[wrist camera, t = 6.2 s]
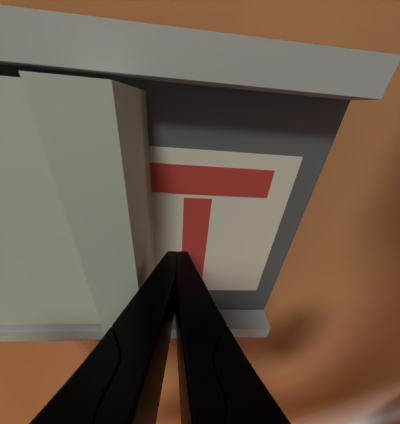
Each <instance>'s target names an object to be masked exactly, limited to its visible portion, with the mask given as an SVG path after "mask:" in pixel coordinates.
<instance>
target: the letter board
mask: <svg viewBox="0 0 400 424" xmlns="http://www.w3.org/2000/svg"><path fill="white" fill-rule="evenodd" d="M399 62H400V55H397V54H389V53H381V52H373V51H365V50H357V49H349V48H341V47H333V46H325V45H317V44H309V43H301V42H293V41H285V40H277V39H269V38H261V37H253V36H245V35H238V34H230V33H222V32H214V31H206V30H198V29H190V28H182V27H174V26H166V25H158V24H150V23H142V22H134V21H126V20H118V19H110V18H102V17H94V16H86V15H78V14H70V13H62V12H54V11H47V10H39V9H31V8H23V7H15V6H7V5H0V76H10V77H20V74H19V71H29V72H39V73H50V74H60V75H70V76H80V77H90V78H100V79H110V80H114V81H117V82H120V83H123V84H126V85H130V86H133V87H136V88H139V89H142V90H145V91H146V102H147V120H148V138H149V156H150V174H151V192H152V210H153V228H154V246H155V264H156V266H157V265H158V263H159V262H160V261H161V259H162V258H163V257H164V255H165V254H166V253H167V252H168V251H177V252H178V251H187V252H188V253H189V255H190V257H191V259H192V261H193V263H194V264H195V266H196V268H197V270H198V272H199V274H200V275H201V277H202V279H203V281H204V283H205V285H206V286H207V288H208V290H209V292H210V294H211V296H212V297H213V299H214V301H215V303H216V305H217V307H218V308H219V310H220V312H221V314H222V316H223V318H224V320H225V321H226V323H227V326H228V327H229V328H230V330H231V332H232V334H233V336H234V338H248V337H267V335H268V333H269V331H270V329H271V328H270V325H269V322H268V319H267V317H266V314H265V311H264V308H265V306H266V303H267V301H268V299H269V296H270V294H271V291H272V289H273V286H274V284H275V282H276V279H277V277H278V274H279V272H280V269H281V267H282V265H283V262H284V260H285V257H286V255H287V252H288V250H289V248H290V245H291V243H292V240H293V238H294V235H295V233H296V231H297V228H298V226H299V223H300V221H301V218H302V216H303V214H304V211H305V209H306V206H307V204H308V201H309V199H310V197H311V194H312V192H313V189H314V187H315V184H316V182H317V180H318V177H319V175H320V172H321V170H322V167H323V165H324V163H325V160H326V158H327V155H328V153H329V150H330V148H331V146H332V143H333V141H334V138H335V136H336V133H337V131H338V129H339V126H340V124H341V121H342V119H343V116H344V114H345V112H346V109H347V107H348V104H349V102H350V100H379V99H382V97H383V95H384V93H385V91H386V89H387V87H388V84H389V82H390V80H391V78H392V76H393V74H394V72H395V70H396V68H397V66H398V64H399ZM18 70H19V71H18ZM104 335H105V334H104V331H103V328H102V325H101V324H47V325H0V342H7V341H67V340H101V339H102V338H103V336H104ZM170 339H176V324H175V314H174V320H173V326H172V332H171V337H170Z"/></svg>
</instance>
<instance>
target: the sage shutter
mask: <svg viewBox="0 0 400 424" xmlns="http://www.w3.org/2000/svg"><path fill="white" fill-rule="evenodd" d="M18 71H19V70H18ZM19 74H20V77H10V76H0V325H47V324H101V325H102V328H103V331H104V334H106V332H107V331H108V330H109V328H111V327H112V325H113V323H114V322H115V321H116V319H117V318H118V317H119V315H120V314H121V313H122V311H123V310H124V309H125V307H126V306H127V305H128V303H129V302H130V301H131V299H132V298H133V297H134V295H135V294H136V293H137V291H138V290H139V289H140V287H141V286H142V285H143V283H144V282H145V281H146V279H147V278H148V277H149V275H150V274H151V273H152V271H153V270H154V269H155V267H156V264H155V246H154V228H153V210H152V192H151V174H150V156H149V138H148V120H147V102H146V91H145V90H142V89H139V88H136V87H133V86H130V85H126V84H123V83H120V82H117V81H114V80H110V79H100V78H90V77H80V76H70V75H60V74H50V73H39V72H29V71H19Z"/></svg>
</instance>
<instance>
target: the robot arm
mask: <svg viewBox="0 0 400 424" xmlns="http://www.w3.org/2000/svg"><path fill="white" fill-rule="evenodd" d="M174 314H175V324H176V341H177V357H178V374H179V391H180V407H181V424H291V423H290V422H289V420H288V419H287V418H286V416H285V415H284V413H283V412H282V410H281V409H280V407H279V406H278V404H277V403H276V401H275V400H274V398H273V397H272V396H271V394H270V393H269V391H268V390H267V388H266V387H265V385H264V384H263V382H262V381H261V379H260V378H259V376H258V375H257V373H256V372H255V370H254V369H253V367H252V366H251V364H250V363H249V361H248V360H247V358H246V356H245V355H244V353H243V351H242V350H241V348H240V346H239V345H238V343H237V341H236V339H235V338H234V336H233V334H232V332H231V330H230V328H229V327H228V326H227V323H226V321H225V320H224V318H223V316H222V314H221V312H220V310H219V308H218V307H217V305H216V303H215V301H214V299H213V297H212V296H211V294H210V292H209V290H208V288H207V286H206V285H205V283H204V281H203V279H202V277H201V275H200V274H199V272H198V270H197V268H196V266H195V264H194V263H193V261H192V259H191V257H190V255H189V253H188V252H187V251H178V252H177V251H168V252H167V253H166V254H165V255H164V257H163V258H162V259H161V261H160V262H159V263H158V265H157V266H156V267H155V269H154V270H153V271H152V273H151V274H150V275H149V277H148V278H147V279H146V281H145V282H144V283H143V285H142V286H141V287H140V289H139V290H138V291H137V293H136V294H135V295H134V297H133V298H132V299H131V301H130V302H129V303H128V305H127V306H126V307H125V309H124V310H123V311H122V313H121V314H120V315H119V317H118V318H117V319H116V321H115V322H114V323H113V325H112V327H111V328H109V330H108V331H107V332H106V334H105V335H104V336H103V338H102V339H101V340H100V342H99V343H98V344H97V345H96V347H95V348H94V349H93V351H92V352H91V353H90V354H89V356H88V357H87V358H86V359H85V361H84V362H83V363H82V364H81V365H80V367H79V368H78V369H77V370H76V371H75V372H74V373H73V375H72V376H71V377H70V378H69V379H68V380H67V382H66V383H65V384H64V385H63V386H62V387H61V388H60V390H59V391H58V392H57V393H56V394H55V395H54V396H53V397H52V399H51V400H50V401H49V402H48V403H47V404H46V405H45V406H44V408H43V409H42V410H41V411H40V412H39V413H38V414H37V416H36V417H35V418H34V419H33V420H32V421H31V422H30V423H29V424H156V418H157V412H158V407H159V401H160V395H161V389H162V383H163V378H164V372H165V366H166V360H167V355H168V349H169V343H170V337H171V332H172V326H173V320H174Z"/></svg>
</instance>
